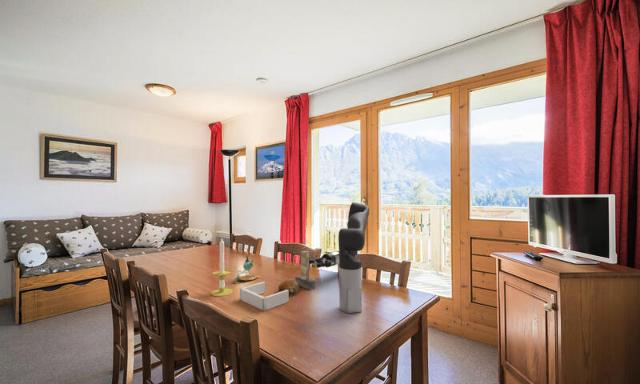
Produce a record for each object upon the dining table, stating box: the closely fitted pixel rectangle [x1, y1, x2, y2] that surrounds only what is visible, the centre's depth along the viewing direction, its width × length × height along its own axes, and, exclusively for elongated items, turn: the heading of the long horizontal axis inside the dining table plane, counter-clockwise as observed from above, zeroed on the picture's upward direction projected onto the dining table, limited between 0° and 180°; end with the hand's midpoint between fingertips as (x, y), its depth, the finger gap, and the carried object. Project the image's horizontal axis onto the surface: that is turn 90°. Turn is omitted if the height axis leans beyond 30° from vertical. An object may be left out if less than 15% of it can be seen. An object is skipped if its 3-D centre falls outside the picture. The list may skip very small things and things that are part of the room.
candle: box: [210, 237, 233, 297], centre depth 135 cm, size 10×10×27 cm
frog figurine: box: [233, 254, 261, 285], centre depth 157 cm, size 10×18×15 cm, turn 133°
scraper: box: [294, 250, 316, 290], centre depth 144 cm, size 3×12×18 cm, turn 47°
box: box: [239, 281, 290, 312], centre depth 125 cm, size 13×18×5 cm
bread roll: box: [278, 278, 300, 297], centre depth 136 cm, size 10×10×8 cm
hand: (311, 264), depth 147 cm, fingers open, 8 cm apart
